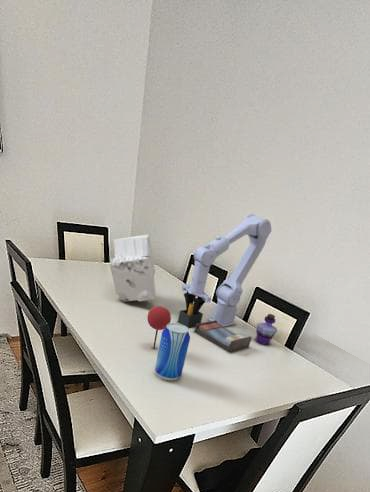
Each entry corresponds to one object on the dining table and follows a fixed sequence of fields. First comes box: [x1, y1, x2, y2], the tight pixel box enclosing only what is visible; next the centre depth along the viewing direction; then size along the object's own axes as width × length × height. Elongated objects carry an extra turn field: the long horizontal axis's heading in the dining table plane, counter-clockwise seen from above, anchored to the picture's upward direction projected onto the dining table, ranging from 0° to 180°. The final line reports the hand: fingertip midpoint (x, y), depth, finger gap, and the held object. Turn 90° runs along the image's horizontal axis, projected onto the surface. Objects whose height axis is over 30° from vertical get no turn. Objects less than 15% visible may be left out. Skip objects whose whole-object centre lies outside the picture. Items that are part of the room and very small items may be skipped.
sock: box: [187, 302, 194, 315], centre depth 156 cm, size 3×3×5 cm
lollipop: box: [146, 305, 172, 350], centre depth 129 cm, size 8×8×15 cm
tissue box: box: [109, 233, 157, 303], centre depth 163 cm, size 20×16×25 cm
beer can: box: [154, 322, 191, 382], centre depth 115 cm, size 8×8×16 cm
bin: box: [177, 309, 204, 328], centre depth 158 cm, size 8×6×5 cm
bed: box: [194, 320, 252, 354], centre depth 151 cm, size 12×19×4 cm, turn 44°
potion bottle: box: [255, 313, 279, 346], centre depth 156 cm, size 9×9×12 cm
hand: (191, 312), depth 157 cm, fingers closed on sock, 3 cm apart
